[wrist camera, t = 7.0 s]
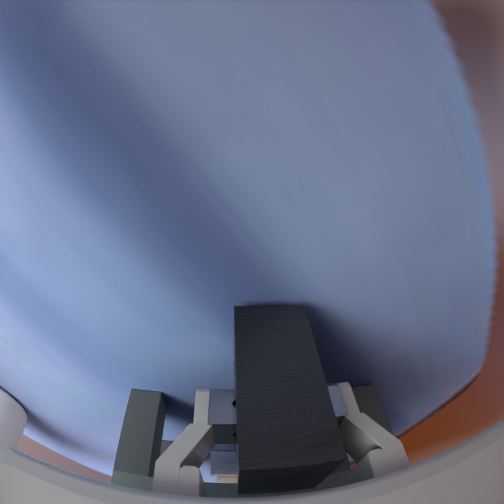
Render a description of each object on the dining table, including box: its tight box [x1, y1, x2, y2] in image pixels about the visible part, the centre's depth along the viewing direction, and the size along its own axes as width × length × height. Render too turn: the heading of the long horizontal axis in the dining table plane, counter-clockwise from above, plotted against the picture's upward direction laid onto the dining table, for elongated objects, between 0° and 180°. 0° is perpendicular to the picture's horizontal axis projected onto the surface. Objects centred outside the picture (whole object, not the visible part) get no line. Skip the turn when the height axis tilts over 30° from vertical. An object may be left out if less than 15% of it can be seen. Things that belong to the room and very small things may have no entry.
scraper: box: [211, 306, 346, 495], centre depth 14 cm, size 18×7×7 cm, turn 177°
